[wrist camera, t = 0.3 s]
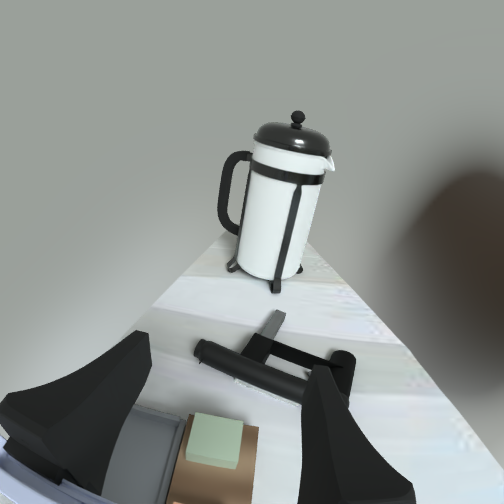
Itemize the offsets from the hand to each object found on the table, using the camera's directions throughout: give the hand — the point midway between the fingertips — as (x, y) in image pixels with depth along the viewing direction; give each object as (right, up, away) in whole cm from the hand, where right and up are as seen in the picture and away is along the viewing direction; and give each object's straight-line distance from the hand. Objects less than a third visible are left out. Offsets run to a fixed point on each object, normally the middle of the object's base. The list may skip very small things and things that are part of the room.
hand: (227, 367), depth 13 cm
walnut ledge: (-3, -18, +9) cm, 20 cm away
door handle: (+5, -10, +28) cm, 30 cm away
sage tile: (-2, -13, +12) cm, 18 cm away
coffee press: (+2, +1, +47) cm, 47 cm away
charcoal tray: (-11, -17, +9) cm, 22 cm away
